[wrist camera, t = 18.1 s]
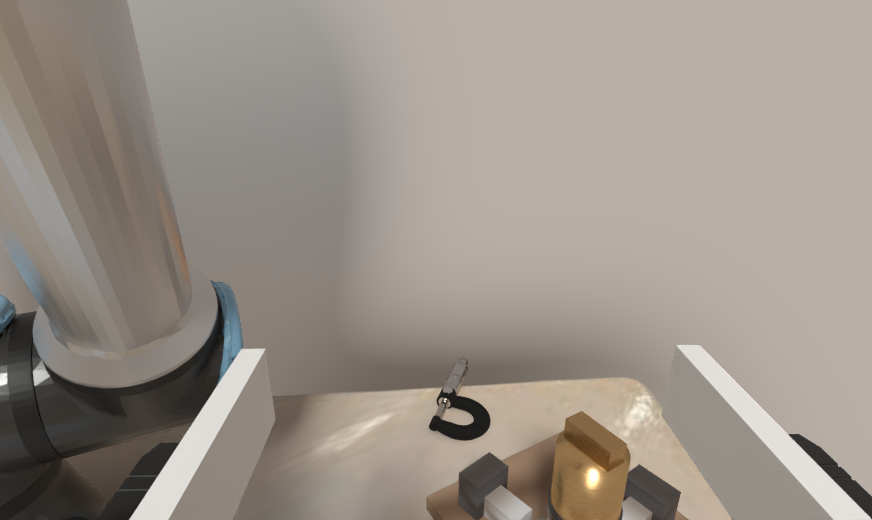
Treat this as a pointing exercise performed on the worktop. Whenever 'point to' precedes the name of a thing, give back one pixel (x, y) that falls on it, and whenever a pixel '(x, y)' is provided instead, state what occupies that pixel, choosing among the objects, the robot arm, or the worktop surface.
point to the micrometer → (450, 399)
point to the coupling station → (539, 490)
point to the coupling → (588, 472)
